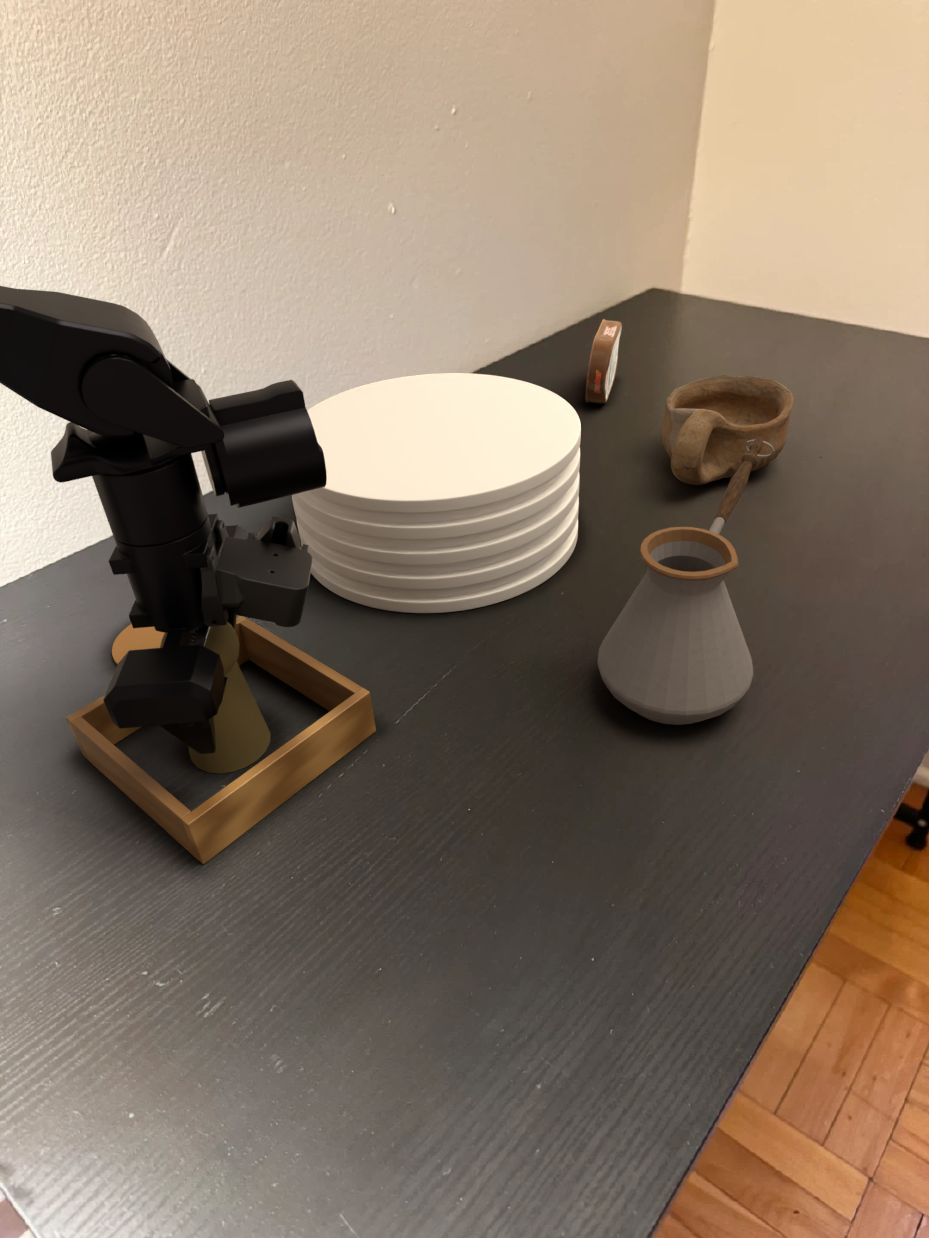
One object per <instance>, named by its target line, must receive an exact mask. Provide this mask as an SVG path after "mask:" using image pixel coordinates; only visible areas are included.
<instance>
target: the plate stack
mask: <svg viewBox="0 0 929 1238" xmlns="http://www.w3.org/2000/svg"><path fill="white" fill-rule="evenodd" d="M307 412H308V414H309V417H310V419H311V422H312V425H313V428H314V431H315V435H316V438H317V442H318V444H319V445H320V446H321V448H322V450H323V453H324V459H325V465H326V475H327V481H326V486H325V487H322V488H318V489H314V490H310V491H306V492H302V493H298V494H294V495H291V500H292V505H293V511H294V514H295V517H296V527H297V532H298V535H299V538H300V547H302V546H303V544H306V545H309V547H308V553H310V554H311V556H312V558H313V560H312V567H311V575H312V576H313V578H314V579H316V581H317V582H319V584H321V585H322V586H323V587H324V588H326V589H327V590H329V591H330V592H332V593H333V594H335V595H337V596H339V597H341V598H343V599H345V600H347V601H350V602H353V603H356V604H359V605H362V606H365V607H369V608H373V609H377V610H383V611H388V612H396V613H408V614H442V613H443V614H444V613H453V612H455V613H456V612H461V611H468V610H473V609H478V608H479V609H480V608H482V607H488V606H492V605H495V604H498V603H501V602H504V601H507V600H510V599H513V598H516V597H518V596H520V595H522V594H525V593H527V592H529V591H531V590H533V589H535V588H536V587H538V586H540V585H541V584H543V583H544V582H546V581H548V580H549V579H550V578H551V577H553V576H554V575H555V574H556V573H557V572H559V571H560V570H561V569H562V568H563V566H564V565H566V563H567V562H568V561H569V560H570V558H571V556H572V555H573V553H574V551H575V548H576V545H577V542H578V536H579V509H580V508H579V507H580V497H579V496H580V495H579V494H580V466H581V447H580V446H581V437H582V436H581V435H582V425H581V424H582V423H581V419H580V417H579V414H578V412H577V411H576V409H575V408H574V407H573V406H572V405H571V404H570V403H569V402H568V401H567V400H566V399H564V398H563V397H561V396H560V395H559V394H557V393H555V392H553V391H551V390H550V389H547V388H545V387H542V386H540V385H537V384H534V383H531V382H528V381H524V380H520V379H516V378H513V377H506V376H501V375H500V376H499V375H495V374H494V375H493V374H483V373H470V372H469V373H468V372H467V373H466V372H442V373H441V372H440V373H425V374H415V375H406V376H399V377H393V378H388V379H383V380H379V381H374V382H371V383H370V382H369V383H366V384H364V385H360V386H356V387H353V388H350V389H347V390H344V391H342V392H339V393H336V394H334V395H332V396H329V397H328V398H325V399H324V400H321V401H320V402H318V403H316V404H314V405H312V406H311V407H310V408H308V409H307Z"/></svg>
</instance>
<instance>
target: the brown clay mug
mask: <svg viewBox="0 0 929 1238" xmlns="http://www.w3.org/2000/svg"><path fill="white" fill-rule="evenodd" d="M794 403H795V398H794V394H793V393H792V391H791V390H789V388H787V387H786V386H785V385H783V384H782V383H780V382H779V381H777V380H776V379H772V378H769V377H765V376H759V375H741V376H739V375H727V374H721V375H716V376H710V377H705V378H699V379H697V380H693V381H690V382H687V383H686V384H683V385H681V386H679V387H677V388H675V389H674V390H672V391H671V393H670V394H669V395H668V397H667V398H666V400H665V406H664V413H663V418H662V421H661V427H660V438H661V442H662V444H663V447H664V449H665V451H666V453H667V455H668V456H669V458H670V468H671V472H672V474H673V476H674V477H675V478H676V479H677V480H679V481H681V482H682V483H685V484H687V485H688V484H689V485H695V486H701V485H707V484H709V483H711V482H716V481H719V480H722V479H728V478H732V477H733V475H734V474H735V473H736V471H737V470H738V469H739V467H740V466H741V464H742V460H741V459H742V456H743V455H745V454H748V451H747V450H746V448H745V445H746V443H747V441H749V440H753V439H756V438H757V437H761V438H763V441H766V442H768V443H769V444H771V445H772V446H773V448H774V452H773V451H772V449H771V447H769V446H768V445H766V444H764V443H762V448H761V451H760V452H759V453H758V454H759V455H768V454H771V453H772V452H773V454H772V456H769V457H757V456H756V457H757V460H758V462H757V464H756V465H755V466H753V467H752V468H751V471H750V472H753V471H756V470H760V469H761V468H762V467H764V466H767V465H768V464H770V462H772V461H774V460H775V459H776V458H777V457H778V456H779V454H780V453H781V452H782V450H783V449H784V446H785V444H786V441H787V437H788V431H789V425H790V419H791V418H790V417H791V413H792V411H793V409H794ZM752 443H753V442H750V443H748V444H747V447H748V449H749V448H750V445H751V444H752Z"/></svg>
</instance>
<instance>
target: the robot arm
mask: <svg viewBox="0 0 929 1238" xmlns="http://www.w3.org/2000/svg"><path fill="white" fill-rule="evenodd" d="M0 384H1V385H2V386H4V387H6V388H7V389H9V390H10V391H12V392H13V393H15V394H17V395H18V396H20V397H21V398H23V399H24V400H26V401H28V402H29V403H31V404H32V405H33V406H36V407H37V408H39V409H40V410H43V411H45V412H48V413H50V414H52V415H54V416H57V417H59V418H61V419H63V420H65V421H67V423H66V424H65V430H64V434H63V436H62V437H61V439H60V440H59V441H58V443H57V444H56V445H55V446H54V447H53V448H52V449H51V451H50V461H51V470H52V478H53V480H54V481H55V482H57V483H60V484H61V483H67V482H71V481H76V480H81V479H86V478H89V477H92V480H93V484H94V486H95V488H96V491H97V494H98V497H99V500H100V503H101V506H102V509H103V510H104V511H103V512H104V515H105V517H106V520H107V522H108V525H109V528H110V531H111V533H112V536H113V540H114V541H115V547H114V549H113V551H112V553H111V555H110V557H109V559H108V564H109V566H110V569H111V572H112V574H113V576H118V575H127V579H128V582H129V584H130V587H131V590H132V593H133V595H134V598H135V600H134V603H133V605H132V607H131V609H130V612H129V614H128V618H129V621H130V624H132V626H133V628H144V627H154V628H155V630H156V631H159V632H165V633H167V636H166V639H165V642H164V644H163V647H162V648H152V649H140V650H129V651H128V652H127V653H126V655H125V656H124V657H123V658H122V660H121V661H120V662H119V663H118V665H116V668H115V671H114V673H113V675H112V678H111V680H110V682H109V685H108V687H107V690H106V692H105V694H104V695H105V697H104V699H103V701H104V703H105V705H106V708H107V710H108V713H109V715H110V717H111V720H112V722H113V723H114V724H115V725H116V726H117V727H118V728H120V729H122V728H133V727H141V728H144V727H145V728H146V727H156V726H158V727H160V728H161V729H163V730H164V731H165V732H168V734H170V735H172V736H174V738H176V739H177V740H179V741H180V742H182V743H183V744H185V745H186V746H187V747H188V746H189V747H191V748H192V749H194V750H195V751H197V752H198V753H200V754H208V753H214V752H215V750H216V738H215V727H214V718H213V717H214V716H215V715H217V713H218V709H219V707H220V705H221V703H222V700H223V696H224V692H225V688H226V684H227V680H228V677H224V667H223V664H222V661H221V657H220V655H219V654H217V653H216V652H214V651H212V650H210V649H209V648H207V647H206V645H207V641H208V638H209V635H210V631H211V628H212V626H220V625H227V622H228V623H230V624H231V625H232V627H233V628H234V630H235V632H236V618H237V616H243V617H245V618H247V619H253V620H258V621H259V620H260V621H264V622H269V623H274V624H275V625H276V626H278V627H282V628H292V627H293V628H295V627H296V626H298V625H299V624H300V623H301V620H302V615H303V612H304V608H305V607H304V606H305V602H306V598H307V594H308V588H309V585H310V579H311V575H312V573H311V567H312V560H313V558H312V556H311V554H310V553H308V547H309V545H306V544H303V546H301V539H300V536H299V531H298V528H297V525H296V524H295V521H294V520H293V519H291V518H286V517H281V516H278V515H273V516H272V517H270V519H269V520H268V521H266V523H265V524H264V525H263V526H262V528H261V529H259V531H258V533H257V536H255V535H256V533H254V532H249V531H247V530H246V529H244V528H242V527H241V526H239V525H238V524H234V525H226V523H225V521H224V519H220V518H219V515H218V513H210V514H209V513H208V510H207V506H206V503H205V499H204V495H203V491H202V487H201V483H200V480H199V477H198V473H197V469H196V465H195V462H194V458H193V454H195V453H199V452H201V456H202V459H203V463H204V467H205V471H206V473H207V476H208V481H209V482H210V486H211V488H212V491H213V494H214V497H221V496H224V495H225V493H226V498H227V500H228V503H229V506H230V507H232V506H236V507H237V508H238V509H240V508H241V509H242V508H245V507H249V506H253V505H256V504H260V503H265V502H269V501H273V500H277V499H280V498H286V497H289V496H292V495H294V494H298V493H302V492H306V491H310V490H314V489H318V488H322V487H325V486H326V481H327V475H326V465H325V459H324V453H323V450H322V448H321V446H320V445H319V444H318V442H317V438H316V435H315V431H314V428H313V425H312V422H311V419H310V417H309V414H308V412H307V410H308V409H307V406H306V402H305V396H304V391H303V390H302V389H301V387H300V386H299V385H298V383H296V381H295V380H293V379H289V380H282V381H278V382H273V383H272V384H269V385H267V386H265V387H263V388H260V389H255V390H251V391H245V392H241V393H236V394H231V395H230V394H229V395H227V396H221V397H216V398H212V399H211V398H210V399H207V397H206V394H205V393H204V391H203V389H202V387H201V385H199V384H198V383H197V382H196V381H195V379H194V378H190V377H189V375H187V374H186V373H184V372H183V371H182V370H181V369H180V368H179V367H177V366H176V365H175V364H173V363H172V362H171V361H170V360H168V359H167V358H166V356H165V354H164V350H163V349H162V347H161V344H160V342H159V340H158V339H157V337H156V335H155V333H154V331H153V330H152V328H151V326H150V325H149V324H148V322H147V321H146V320H145V319H144V318H143V317H142V316H140V315H139V313H137V312H135V311H133V310H131V309H130V308H128V307H126V306H125V305H121V304H117V303H115V302H110V301H105V300H100V299H95V298H89V297H84V296H80V295H76V294H75V295H74V294H70V293H64V292H59V291H51V290H41V289H40V290H38V289H23V288H16V287H10V286H4V285H0Z"/></svg>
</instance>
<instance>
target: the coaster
mask: <svg viewBox="0 0 929 1238" xmlns="http://www.w3.org/2000/svg"><path fill="white" fill-rule="evenodd" d="M164 634H165V632H159V631H156V630H155V628H154V627H144V628H133V626H132V624H131V623H130V624H128V626H127V627H125V628H124V629H122V631H120V633H119V634H118V635H117V637H116V638H115V639H114V641H113V644H112V646H111V656H112V659H113V661H114V663H115V664H116V666H118V663H119V662H120V661H121V660H122V658H123V657H124V656H125V655H126V653H127V652H128V651H129V650H140V649H152V648H160V645H161V641H162V638H163V635H164Z"/></svg>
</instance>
